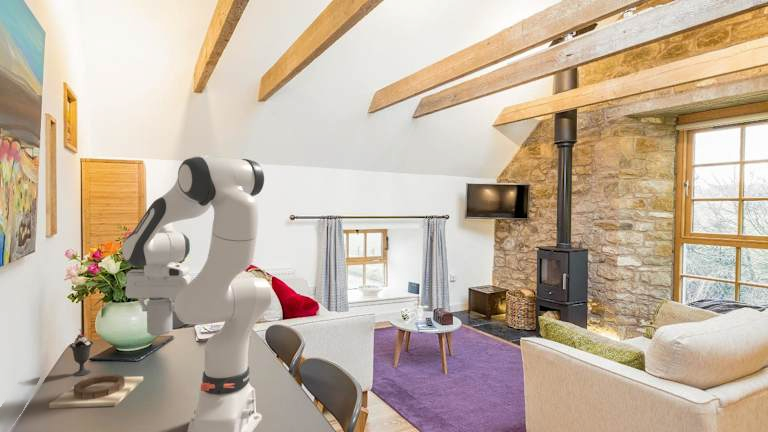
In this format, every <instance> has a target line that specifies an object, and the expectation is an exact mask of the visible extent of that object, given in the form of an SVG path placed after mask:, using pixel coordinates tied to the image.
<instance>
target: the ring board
mask: <svg viewBox="0 0 768 432" xmlns="http://www.w3.org/2000/svg"><path fill="white" fill-rule="evenodd" d="M143 381H144V375H143V376H141V375H140V376H123V375H121V374H117V373H109V374H100V375H94V376H91V377H85V378H83V379H81V380H80V381H79V382H77V383H76V384H74V385H73V386H72V387H71V388H69V389H68V390H66V391H65V392H64V393H62V394H61V395H60V396H58V397H56V398H55V399H54V400H52V401H51V402H49V404H48V408H49V409H61V408H66V409H67V408H92V407H93V408H95V407H98V408H99V407H117V405H118V404H119V403H121V401H122V400H123V399H125V398H126V397H127V396H128V395H129V394H130V393H131V392H132V391H133V390H134V389H135V388H137V387H138V385H140V384H141V383H142V382H143Z"/></svg>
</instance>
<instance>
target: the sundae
mask: <svg viewBox="0 0 768 432" xmlns="http://www.w3.org/2000/svg"><path fill="white" fill-rule="evenodd" d="M79 331H80V333H79V334H78V335H77V337H76V338H75V339H74V342H73V343H71V344H70V345H69V348H70V349H72V353H73V360H74V361H75V363H77V364H79V369H78V371H75V372H73V374H72V375H73V376H74V377H83V376H86V375H88V374H89V375H90V373H91V370H90V369H85V363H86V362H87V361H88V360H89V359H90V354H91V352H90V351H91V347H92V345H94V342H93V341H92V340H88V338H86V336H84V335H83V332H82V328H79Z"/></svg>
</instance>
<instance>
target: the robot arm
mask: <svg viewBox="0 0 768 432" xmlns="http://www.w3.org/2000/svg"><path fill="white" fill-rule="evenodd" d="M177 172H178V173H177V178H176V181H175V183H174V185H173V186H172V187H171V188H170V190H168V191H167V192H166V193H165V194H163V195H162V196H161V197H159V198H157V199H155V200H154V201H153V202H152V203H151V204H150V206H149V207H148V208H147V210H146V211H145V213H144V215H143V216H142V217H141V219H140V221H139V222H138V224H137V225H136V226H135V228H134V230H133V231H132V232H131V233H130V234H129V235H128V236H127V237H126V238H125V239H124V241H123V243H122V246H121V247H122V250H121V253H122V258H123V260H124V262H126V263H127V264H129V265H130V266H132V267H134V268H140V267H143V269H130V270H129V271H127V272H126V274H125V280H126V285H125V292H124V294H125V297H126V298H127V299H138V300H137V301H138V304H139V305H140V306H141V311H142V312H147V302H145V300H146V299H149V298H170V299H171V298H172V299H173V302H174V303H173V304H172V305H171V306H170V311H172V312H175V314H176V316H177V318H178V319H179V321H180V322H182V323H183V324H185V325H209V324H215V323H219V322H224V323H223V325H222V327H220V328H219V330H218V331H217V332H216V333H214V334H213V335H212V336H210V337H209V338H208V340H207V341H206V343H205V346H204V371H203V372H202V378H201V384H200V390H198V400H197V404H196V409H195V410H194V412H193V413H194V416H191V418H190V420H189V424H188V427H187V432H254V431H255V429H257V426H258V425H259V424H260V423H261V421H262V419H263V416H262V414H261V413H259V412H257V410H256V409H257V408H256V407H257V406H256V389H255V388H254V387H253V386H252V385H251V383H250V372H251V371H250V367H249V365H248V364H249V361H248V360H249V359H248V357H249V346H250V345H249V344H250V338H251V335H252V331H253V329H254V328H255V327H256V326H255V325H257V322H258V321H259V320H260V318H261V317H262V315H264V314H265V313H266V312H267V311H268V310H269V308H270V307H271V305H272V303H273V301H274V299H273V298H274V291H273V287H272V285H271V284H270V283H269V281H268V280H267V279H265V278H263V277H256V276H255V277H253V276H244V277H237V276H238V275H239V274H241V273H243V272H245V271H246V270H247V269H248V268H249V267H250V266H251V265H252V263H253V262H254V258H255V250H256V249H255V248H256V245H257V244H256V242H257V236H258V223H259V222H258V219H259V218H258V217H259V215H258V213H259V212H258V210H259V209H258V203H257V200H256V198H255V196H256V195H259V194H260V193H261V191H262V190H263V187H264V183H265V174H264V171H263V168H262V166H261V165H260V164H259V163H258V162H256V161H254V160H251V159H248V158H241V159H240V158H235V157H233V158H232V157H225V156H210V155H205V154H198V155H194V156H193V157H190V158H187V159H184V160H183V162H182V163H181V164H180V166H179V168H178V171H177ZM211 206H212V208H213V214H214V215H213V222H212V226H211V228H212V229H211V237H210V243H209V249H208V253H207V259H206V261H205V262H204V264H203V267H202V269H200V271H199V273H198V274H196V275H195V277H194V278H193V279H192V276H191V275H190V274H189V273H190V267H188V266H186V265H183V264H179V262H181V261H182V262H183V261H185V259H186V258H187V257H188V255H189V254H190V248H191V245H190V244H191V243H190V239H189V238H188V237H187V235H186V234H185V233H183V232H180V231H178V230H176V229H175V228H174V226H173V223H175V222H179V221H184V220H189V219H194V218H198V217H200V216H203V214H205V213H206V212H207V211H208V210H210V208H211Z"/></svg>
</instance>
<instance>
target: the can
mask: <svg viewBox="0 0 768 432" xmlns="http://www.w3.org/2000/svg"><path fill="white" fill-rule="evenodd" d="M146 305H147V311H146V332H147V333H148V334H149V335H151V336H157V337H159V336H164V335H167V334H170V332H171V331H173V328H174V327H173V311H170V306H171V305H173V300H172V299H171V298H148V301H147V302H146Z"/></svg>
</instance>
